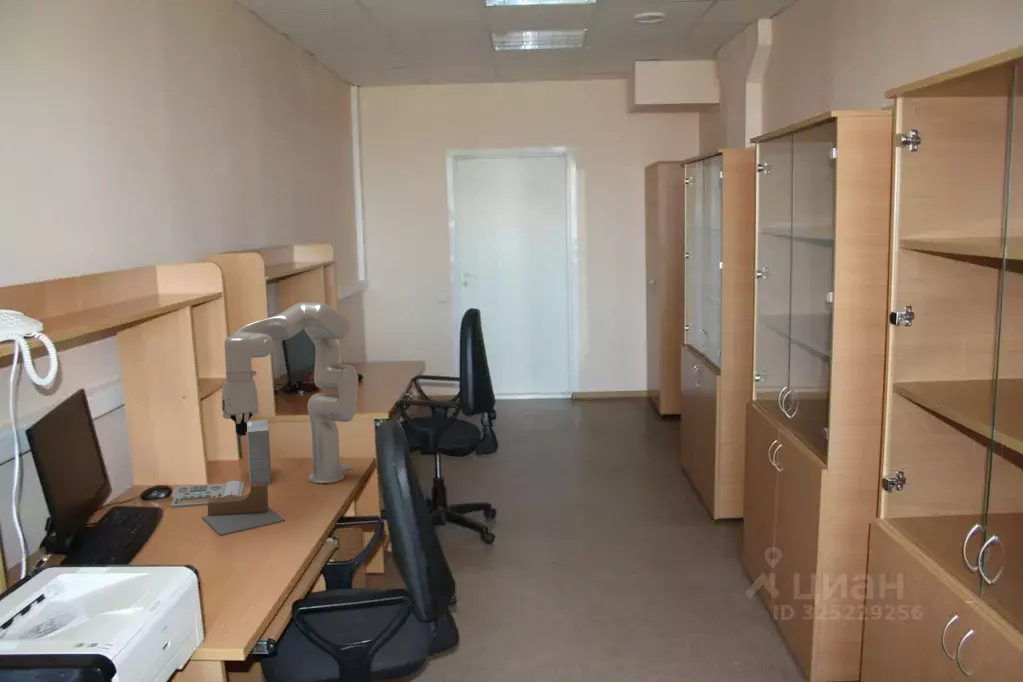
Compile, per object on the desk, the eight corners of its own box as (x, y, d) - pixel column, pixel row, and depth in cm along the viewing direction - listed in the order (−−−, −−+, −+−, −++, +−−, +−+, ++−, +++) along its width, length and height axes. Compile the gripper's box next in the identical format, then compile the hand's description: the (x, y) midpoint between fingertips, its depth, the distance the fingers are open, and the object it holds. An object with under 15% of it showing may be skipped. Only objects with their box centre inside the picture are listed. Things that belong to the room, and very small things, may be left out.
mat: (264, 505, 269) (264, 503, 269) (284, 521, 255) (284, 519, 255) (202, 518, 257) (201, 516, 257) (220, 536, 243) (220, 534, 243)
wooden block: (267, 481, 263) (209, 484, 261) (265, 485, 259) (206, 488, 256) (268, 507, 265) (210, 510, 262) (266, 512, 260) (207, 515, 258)
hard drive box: (249, 472, 302) (247, 420, 299) (271, 471, 305) (268, 419, 302) (249, 486, 288) (246, 431, 285) (272, 483, 290) (269, 429, 287)
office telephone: (244, 478, 291) (241, 496, 272) (244, 485, 291) (242, 504, 272) (174, 483, 284) (166, 502, 265) (174, 490, 285) (167, 509, 266)
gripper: (258, 372, 257) (260, 428, 260) (210, 377, 248) (213, 436, 251) (267, 375, 251) (269, 433, 254) (218, 381, 242) (221, 441, 245)
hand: (241, 434), depth 252 cm, fingers closed
